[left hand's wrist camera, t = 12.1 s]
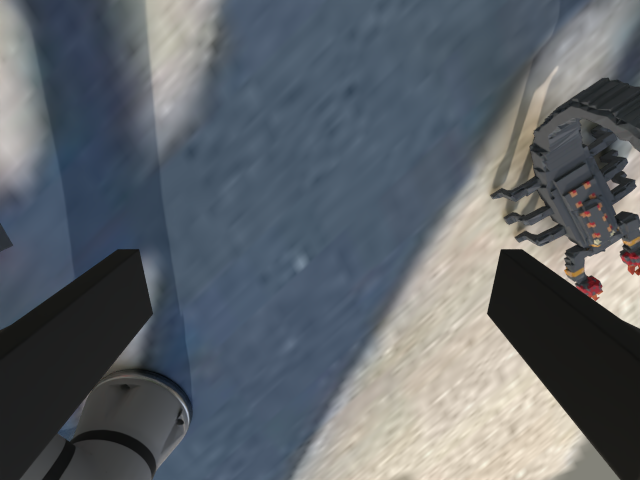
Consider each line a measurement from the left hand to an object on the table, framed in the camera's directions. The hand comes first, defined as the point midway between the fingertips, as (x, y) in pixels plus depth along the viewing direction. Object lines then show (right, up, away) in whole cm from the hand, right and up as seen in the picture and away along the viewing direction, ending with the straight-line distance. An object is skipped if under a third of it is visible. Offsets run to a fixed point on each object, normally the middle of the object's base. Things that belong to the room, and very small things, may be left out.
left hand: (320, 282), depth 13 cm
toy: (+28, +7, +28) cm, 40 cm away
